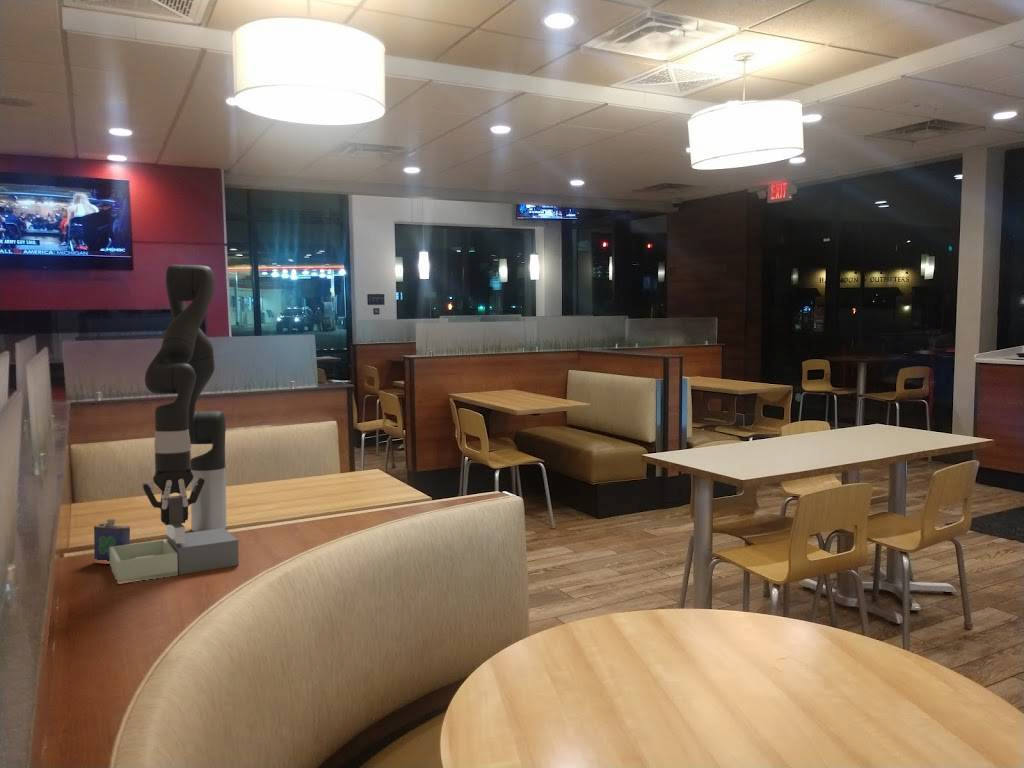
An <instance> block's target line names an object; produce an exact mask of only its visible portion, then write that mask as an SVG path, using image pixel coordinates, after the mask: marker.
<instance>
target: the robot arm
mask: <svg viewBox="0 0 1024 768" xmlns="http://www.w3.org/2000/svg"><path fill="white" fill-rule="evenodd" d="M215 281H216V280H215V275H214V273H213V270H212V268H211V267H209V266H207V265H201V264H199V265H196V264H170V265H169V266H168V267H167V269H166V272H165V285H166V286H165V287H166V293H167V299H168V303H169V308H170V314H171V321H170V322H169V324H168V325H167V326H166V329H165V330H164V331H165V332H164V336H163V339H162V344H161V346H160V347H161V348H160V349H159V351H158V352H157V354H156V355H155V357H153V359H152V361H151V362H150V364H149V365H148V367H147V369H146V371H145V376H144V383H145V387H146V388H147V390H148V391H149V392H150V393H152V394H155V395H176V394H177V396H176V398H175V400H174V401H172V402H170V403H164V404H161V405H158V406H157V407H156V408H155V410H154V422H155V423H154V424H155V431H154V432H155V435H154V466H155V467H154V476H153V478H152V479H151V480H150V481H148V482H143V483H142V484H141V488H142V490H143V492H144V493H145V495H146V497H147V499H148V500H149V503H150V504H151V505H152V507H153V508H155V509H160V521H161V523H163V524H164V526H166V525H169V523H168V509H167V505H168V499H169V497H171V496H170V495H173V494H178V496H180V497H183V523H182V524H185V523H186V521H188V519H189V506H190V525H191V527H190V528H191V531H192V532H197V531H205V530H213V529H220V528H225V529H227V527H228V526H227V481H226V480H227V479H226V432H227V429H226V428H227V427H226V422H227V421H226V417H225V414H224V413H223V412H222V411H219V410H207V411H206V410H203V411H200V410H199V411H197V410H196V404H197V401H198V399H199V397H200V395H201V393H202V391H203V390H204V388H205V387H206V386H207V384H208V383H209V381H210V380H211V378H212V376H213V375H214V372H215V357H214V356H215V355H214V348H213V344H212V342H211V341H210V339H209V338H208V336H207V335H206V334H205V332H204V331H203V330H202V329H201V326H202V322H203V320H204V318H205V316H206V314H207V311H208V309H209V307H210V304H211V301H212V299H213V296H214V292H215V285H216V283H215ZM186 302H191V303H190V304H189V305H188V306H187V303H186ZM192 445H212V447H211V449H210V450H209V451H207V452H205V453H203V454H200V455H197V456H195V457H193V458H191V448H192ZM155 485H156V486H157V487H158V489H160V491H161V492H160V501H158V500H157V498H156V497H155V495H154V493H153V491H154V490H155V487H154V486H155ZM188 486H190V487H189V488H190V496H189V497H188V495H187V491H186V490H187V488H188Z"/></svg>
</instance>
